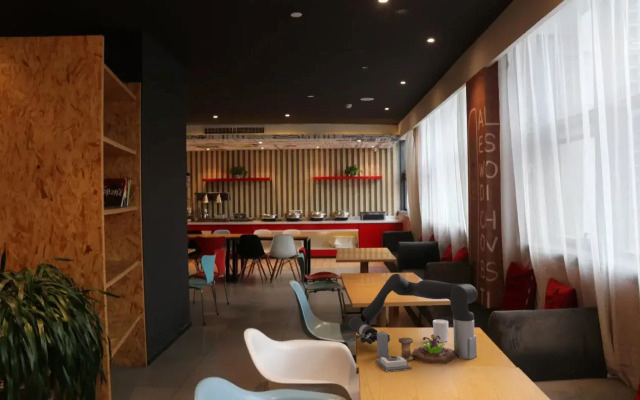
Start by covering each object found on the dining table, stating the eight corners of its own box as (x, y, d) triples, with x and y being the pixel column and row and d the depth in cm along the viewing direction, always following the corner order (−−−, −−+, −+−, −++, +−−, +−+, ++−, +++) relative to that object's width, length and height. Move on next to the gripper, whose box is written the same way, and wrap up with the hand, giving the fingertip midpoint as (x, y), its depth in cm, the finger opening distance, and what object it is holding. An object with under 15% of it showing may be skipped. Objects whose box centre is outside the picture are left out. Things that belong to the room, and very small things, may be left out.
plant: (406, 360, 218) (405, 336, 218) (419, 349, 235) (418, 326, 235) (449, 367, 208) (449, 341, 208) (460, 354, 225) (459, 331, 226)
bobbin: (416, 359, 219) (415, 339, 219) (407, 362, 214) (407, 342, 214) (398, 354, 226) (398, 335, 226) (390, 357, 221) (390, 338, 221)
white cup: (430, 339, 250) (429, 320, 251) (443, 337, 253) (443, 319, 253) (438, 343, 243) (438, 323, 243) (451, 341, 245) (451, 322, 245)
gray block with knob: (377, 355, 224) (376, 329, 225) (385, 355, 225) (384, 328, 226) (380, 358, 220) (379, 331, 221) (388, 357, 221) (387, 330, 222)
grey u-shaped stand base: (375, 361, 216) (375, 355, 216) (398, 359, 219) (398, 352, 219) (387, 371, 202) (387, 364, 202) (411, 369, 205) (411, 362, 205)
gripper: (354, 326, 241) (365, 334, 225) (381, 324, 245) (393, 332, 229) (355, 341, 241) (365, 350, 225) (381, 339, 244) (393, 348, 229)
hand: (379, 341), depth 227 cm, fingers open, 8 cm apart
